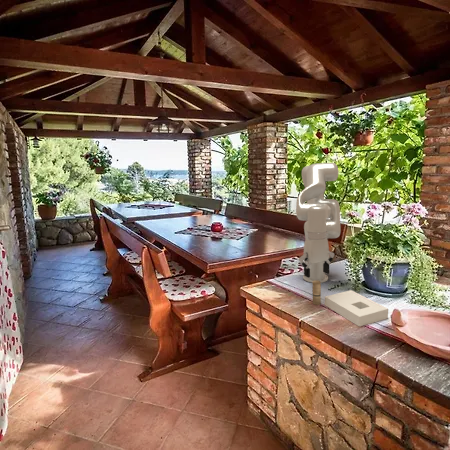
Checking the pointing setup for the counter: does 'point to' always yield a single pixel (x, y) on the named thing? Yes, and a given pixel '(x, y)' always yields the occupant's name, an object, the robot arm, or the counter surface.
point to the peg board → (356, 308)
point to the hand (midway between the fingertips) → (316, 274)
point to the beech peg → (316, 292)
